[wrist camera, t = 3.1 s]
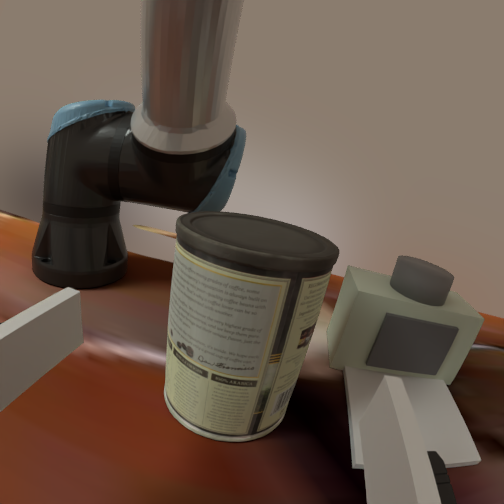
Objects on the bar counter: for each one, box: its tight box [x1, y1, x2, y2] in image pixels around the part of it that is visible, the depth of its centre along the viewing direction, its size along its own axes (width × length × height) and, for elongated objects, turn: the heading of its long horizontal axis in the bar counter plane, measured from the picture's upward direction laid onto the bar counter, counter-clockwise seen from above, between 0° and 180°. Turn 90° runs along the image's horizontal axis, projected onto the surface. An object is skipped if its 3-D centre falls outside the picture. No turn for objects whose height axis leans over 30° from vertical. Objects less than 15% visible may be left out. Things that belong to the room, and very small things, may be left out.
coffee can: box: [164, 211, 339, 442], centre depth 21 cm, size 10×10×14 cm
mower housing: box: [327, 256, 484, 469], centre depth 24 cm, size 21×16×12 cm
